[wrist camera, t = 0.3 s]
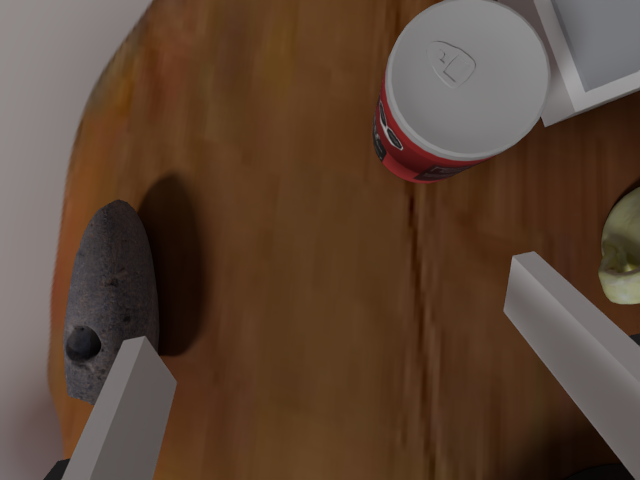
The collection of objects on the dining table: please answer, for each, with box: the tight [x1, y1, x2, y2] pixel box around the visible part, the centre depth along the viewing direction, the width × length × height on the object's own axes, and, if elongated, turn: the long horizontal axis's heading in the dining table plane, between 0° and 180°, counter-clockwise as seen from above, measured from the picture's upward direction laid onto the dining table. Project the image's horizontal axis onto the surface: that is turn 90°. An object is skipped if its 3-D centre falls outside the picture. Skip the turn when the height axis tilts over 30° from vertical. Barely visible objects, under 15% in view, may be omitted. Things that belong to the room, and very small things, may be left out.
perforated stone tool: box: [63, 200, 159, 405], centre depth 27 cm, size 15×5×7 cm, turn 179°
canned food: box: [372, 0, 551, 183], centre depth 22 cm, size 8×8×11 cm
